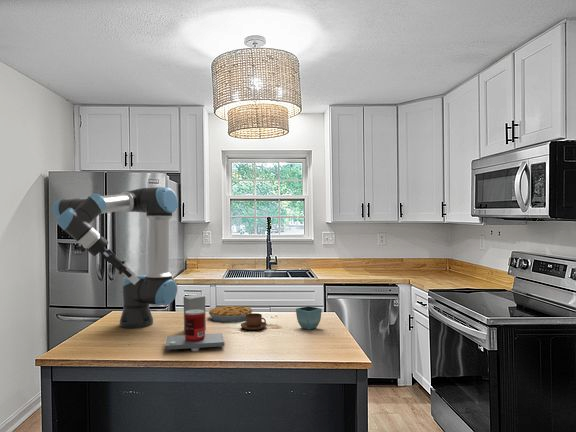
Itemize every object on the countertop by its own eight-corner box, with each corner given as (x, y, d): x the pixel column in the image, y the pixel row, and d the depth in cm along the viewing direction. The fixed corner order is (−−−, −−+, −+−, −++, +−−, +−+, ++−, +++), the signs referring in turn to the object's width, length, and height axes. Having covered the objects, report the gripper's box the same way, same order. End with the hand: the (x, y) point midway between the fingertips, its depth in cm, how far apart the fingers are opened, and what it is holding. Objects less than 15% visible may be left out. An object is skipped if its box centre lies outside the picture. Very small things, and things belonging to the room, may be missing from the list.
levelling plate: (167, 343, 191) (167, 335, 191) (222, 340, 195) (222, 332, 195) (165, 353, 177) (165, 344, 177) (224, 349, 182) (224, 341, 182)
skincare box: (200, 327, 217) (200, 293, 217) (206, 331, 211) (206, 295, 211) (182, 330, 212) (182, 295, 212) (188, 333, 206) (188, 297, 206)
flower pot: (308, 331, 209) (308, 311, 209) (295, 328, 215) (295, 308, 215) (322, 328, 215) (322, 308, 215) (309, 324, 221) (309, 305, 221)
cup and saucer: (268, 325, 221) (268, 312, 221) (264, 332, 209) (264, 318, 209) (243, 325, 222) (243, 312, 222) (238, 331, 210) (238, 317, 210)
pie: (240, 324, 224) (240, 314, 224) (200, 321, 231) (200, 310, 231) (259, 315, 244) (259, 305, 244) (221, 312, 252) (221, 302, 252)
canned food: (206, 336, 190) (205, 309, 190) (203, 341, 182) (202, 313, 182) (187, 336, 190) (186, 309, 190) (183, 341, 182) (183, 313, 182)
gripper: (86, 247, 189) (125, 282, 196) (86, 252, 167) (131, 292, 173) (100, 233, 192) (138, 268, 198) (102, 237, 169) (146, 276, 175)
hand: (135, 279), depth 185 cm, fingers open, 13 cm apart
